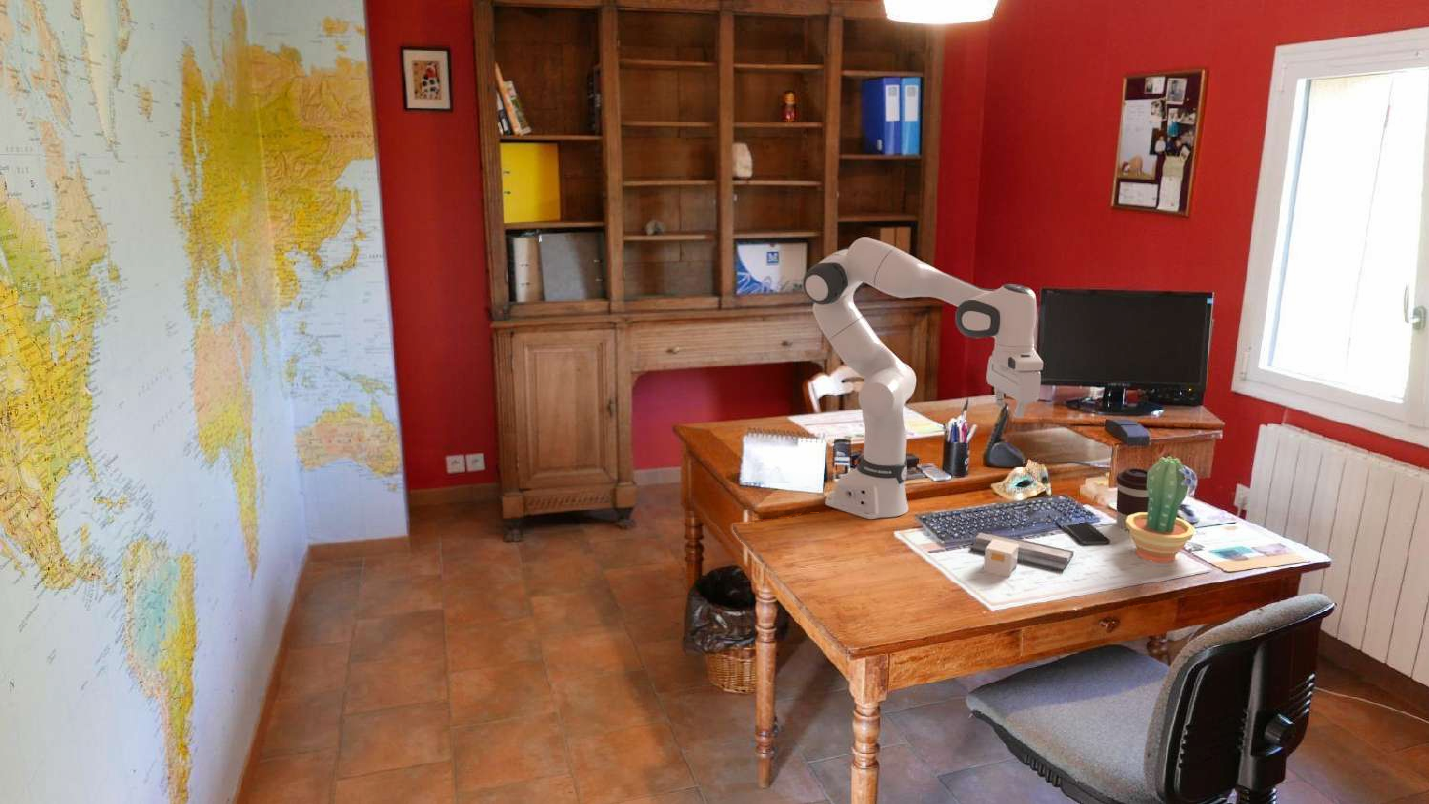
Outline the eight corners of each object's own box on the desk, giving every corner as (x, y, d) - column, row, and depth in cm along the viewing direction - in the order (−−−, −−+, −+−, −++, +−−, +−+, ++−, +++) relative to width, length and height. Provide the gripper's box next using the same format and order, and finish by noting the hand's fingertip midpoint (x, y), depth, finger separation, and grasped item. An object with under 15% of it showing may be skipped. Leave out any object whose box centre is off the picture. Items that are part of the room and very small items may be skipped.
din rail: (970, 551, 239) (971, 542, 238) (983, 535, 248) (984, 527, 247) (1062, 572, 228) (1063, 564, 227) (1073, 555, 237) (1074, 546, 236)
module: (983, 571, 228) (985, 548, 226) (991, 561, 233) (993, 538, 232) (1009, 578, 225) (1011, 554, 223) (1016, 567, 230) (1018, 544, 229)
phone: (1081, 542, 242) (1054, 518, 256) (1081, 546, 242) (1054, 522, 256) (1111, 541, 243) (1083, 517, 257) (1111, 545, 243) (1082, 521, 257)
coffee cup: (1158, 534, 249) (1166, 479, 244) (1119, 533, 249) (1126, 478, 244) (1142, 518, 258) (1150, 465, 254) (1105, 518, 258) (1112, 465, 254)
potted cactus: (1150, 572, 228) (1164, 472, 221) (1108, 544, 242) (1120, 450, 235) (1205, 564, 232) (1221, 466, 225) (1160, 538, 246) (1174, 444, 239)
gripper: (981, 345, 235) (978, 400, 239) (1020, 366, 216) (1016, 425, 220) (1006, 344, 236) (1002, 399, 240) (1047, 364, 217) (1042, 423, 221)
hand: (1009, 411), depth 230 cm, fingers open, 8 cm apart
